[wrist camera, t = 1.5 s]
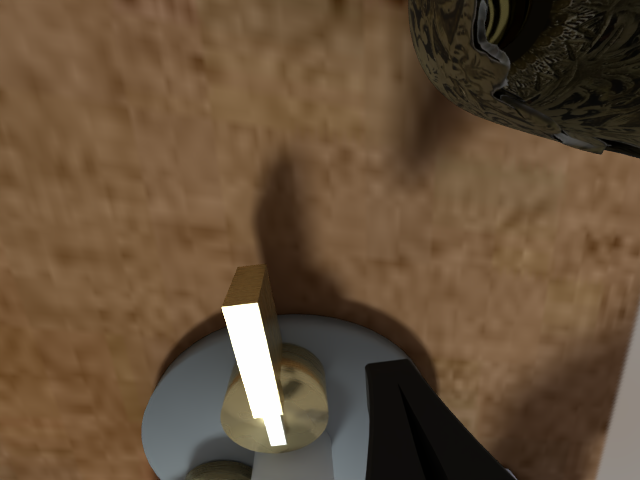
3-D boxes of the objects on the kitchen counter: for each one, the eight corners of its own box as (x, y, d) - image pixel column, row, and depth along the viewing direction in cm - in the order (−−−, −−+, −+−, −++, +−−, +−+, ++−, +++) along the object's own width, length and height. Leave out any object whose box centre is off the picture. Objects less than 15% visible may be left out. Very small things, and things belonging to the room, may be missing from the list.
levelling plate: (473, 434, 20) (534, 551, 15) (275, 530, 24) (268, 654, 18) (324, 254, 14) (338, 340, 9) (87, 415, 18) (-5, 549, 12)
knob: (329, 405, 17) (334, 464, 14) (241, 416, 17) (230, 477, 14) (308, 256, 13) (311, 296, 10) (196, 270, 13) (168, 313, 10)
